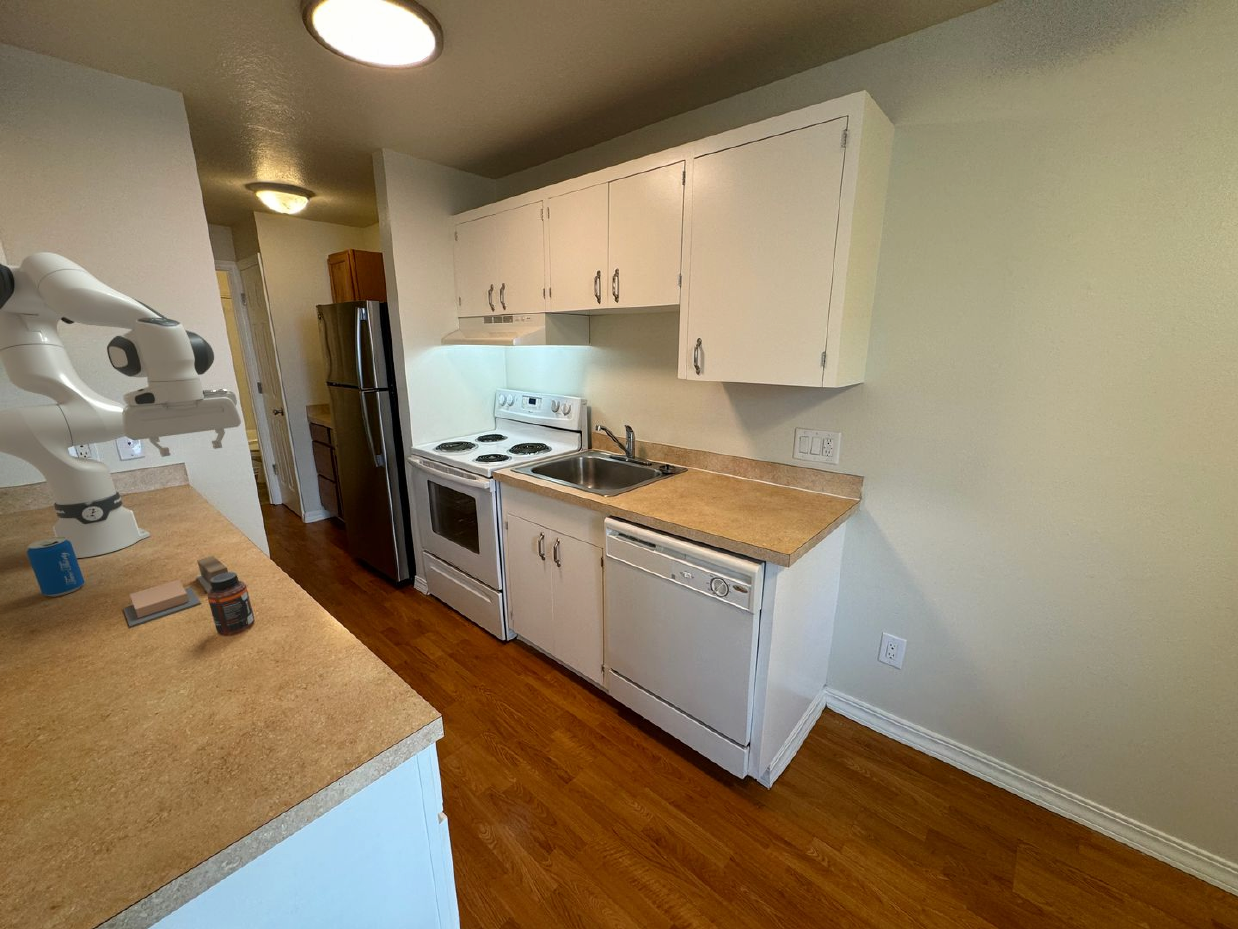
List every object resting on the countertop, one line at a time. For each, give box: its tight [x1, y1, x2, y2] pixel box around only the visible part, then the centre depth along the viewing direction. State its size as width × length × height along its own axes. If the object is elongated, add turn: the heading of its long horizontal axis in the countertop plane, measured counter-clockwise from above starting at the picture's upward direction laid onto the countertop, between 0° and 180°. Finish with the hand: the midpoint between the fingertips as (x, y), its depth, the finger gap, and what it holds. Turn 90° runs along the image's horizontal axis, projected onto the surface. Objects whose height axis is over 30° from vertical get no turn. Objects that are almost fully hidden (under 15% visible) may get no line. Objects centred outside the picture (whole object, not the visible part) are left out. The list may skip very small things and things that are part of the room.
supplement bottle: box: [207, 571, 255, 637], centre depth 94 cm, size 6×6×11 cm
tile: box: [129, 579, 189, 618], centre depth 103 cm, size 2×8×9 cm
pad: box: [196, 573, 212, 593], centre depth 113 cm, size 12×5×1 cm, turn 50°
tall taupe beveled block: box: [196, 555, 229, 585], centre depth 112 cm, size 10×3×4 cm, turn 53°
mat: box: [122, 586, 202, 628], centre depth 103 cm, size 10×11×1 cm
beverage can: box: [26, 536, 86, 598], centre depth 108 cm, size 6×6×12 cm
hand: (192, 451), depth 113 cm, fingers open, 8 cm apart
